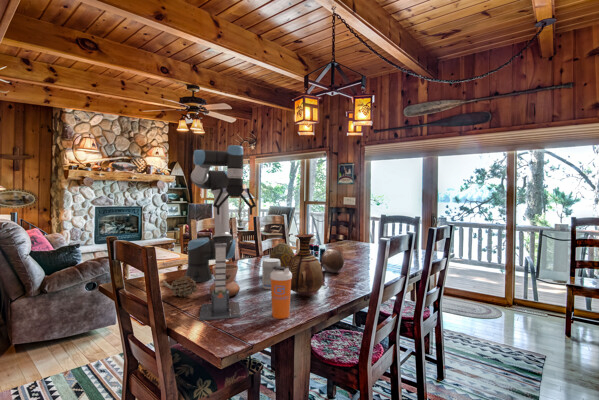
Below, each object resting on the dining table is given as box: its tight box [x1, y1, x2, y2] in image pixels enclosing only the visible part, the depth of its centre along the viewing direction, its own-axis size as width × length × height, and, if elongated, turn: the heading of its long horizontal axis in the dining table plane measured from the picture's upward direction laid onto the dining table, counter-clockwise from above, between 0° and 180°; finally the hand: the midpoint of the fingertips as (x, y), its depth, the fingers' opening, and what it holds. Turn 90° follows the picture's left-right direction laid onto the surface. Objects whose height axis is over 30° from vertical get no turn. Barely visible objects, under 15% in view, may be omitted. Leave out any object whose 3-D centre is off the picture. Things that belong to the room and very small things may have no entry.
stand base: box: [198, 289, 242, 321], centre depth 138 cm, size 16×16×9 cm
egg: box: [268, 242, 296, 267], centre depth 199 cm, size 16×16×20 cm
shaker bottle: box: [270, 266, 292, 320], centre depth 134 cm, size 9×9×20 cm
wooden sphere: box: [320, 248, 345, 274], centre depth 208 cm, size 15×15×15 cm
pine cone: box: [162, 276, 198, 298], centre depth 159 cm, size 22×10×10 cm, turn 67°
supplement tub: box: [261, 257, 280, 291], centre depth 174 cm, size 10×10×15 cm
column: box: [214, 243, 227, 293], centre depth 137 cm, size 5×5×20 cm
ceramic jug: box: [208, 263, 241, 298], centre depth 161 cm, size 18×14×14 cm
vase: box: [288, 233, 324, 297], centre depth 160 cm, size 21×18×30 cm
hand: (234, 221), depth 159 cm, fingers open, 13 cm apart
